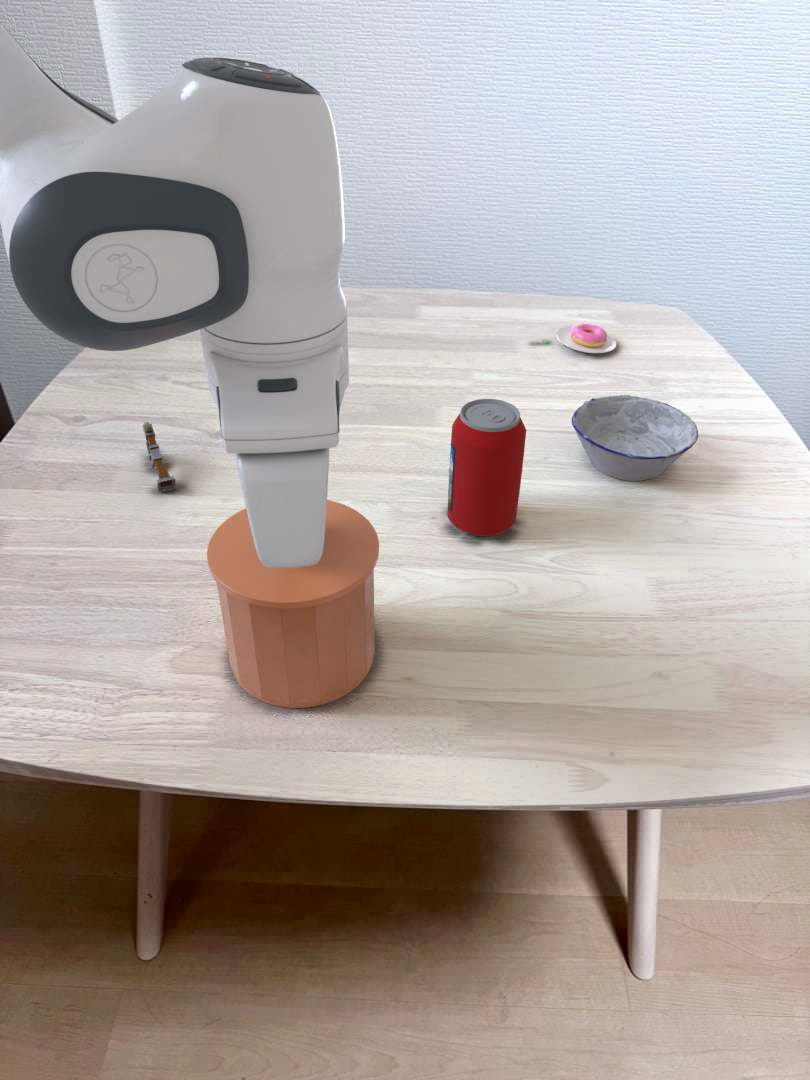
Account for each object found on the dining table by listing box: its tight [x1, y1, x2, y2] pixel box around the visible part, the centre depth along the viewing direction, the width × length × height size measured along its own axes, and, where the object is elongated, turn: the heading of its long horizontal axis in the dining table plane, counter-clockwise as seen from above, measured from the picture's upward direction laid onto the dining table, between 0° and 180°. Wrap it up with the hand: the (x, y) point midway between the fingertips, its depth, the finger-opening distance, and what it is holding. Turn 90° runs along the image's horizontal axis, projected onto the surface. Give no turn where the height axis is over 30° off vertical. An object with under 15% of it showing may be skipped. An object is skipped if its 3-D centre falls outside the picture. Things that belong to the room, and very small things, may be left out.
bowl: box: [571, 394, 699, 482], centre depth 90 cm, size 13×13×5 cm
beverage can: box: [447, 398, 527, 537], centre depth 79 cm, size 7×7×12 cm
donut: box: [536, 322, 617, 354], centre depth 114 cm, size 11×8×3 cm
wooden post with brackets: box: [142, 421, 177, 493], centre depth 88 cm, size 2×8×4 cm, turn 26°
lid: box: [206, 499, 380, 609], centre depth 61 cm, size 12×12×5 cm
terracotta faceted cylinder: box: [216, 568, 376, 709], centre depth 65 cm, size 11×11×10 cm
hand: (292, 535), depth 61 cm, fingers closed on lid, 2 cm apart
